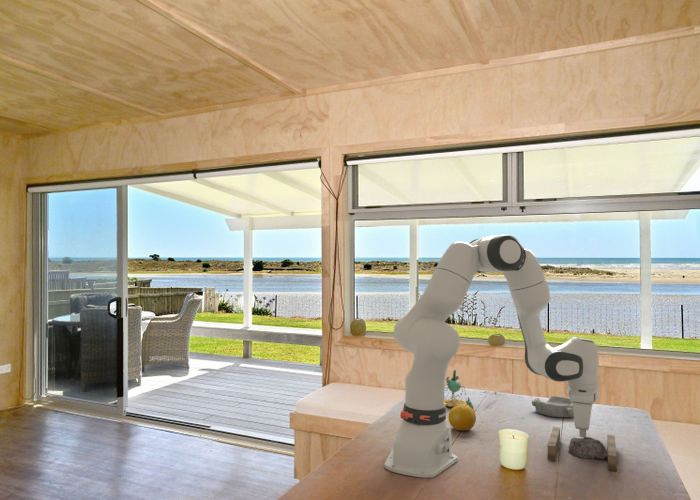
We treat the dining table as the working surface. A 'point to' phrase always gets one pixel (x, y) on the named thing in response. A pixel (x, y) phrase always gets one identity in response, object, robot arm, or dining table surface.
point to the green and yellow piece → (454, 387)
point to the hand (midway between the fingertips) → (583, 436)
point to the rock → (587, 448)
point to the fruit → (462, 417)
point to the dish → (554, 406)
